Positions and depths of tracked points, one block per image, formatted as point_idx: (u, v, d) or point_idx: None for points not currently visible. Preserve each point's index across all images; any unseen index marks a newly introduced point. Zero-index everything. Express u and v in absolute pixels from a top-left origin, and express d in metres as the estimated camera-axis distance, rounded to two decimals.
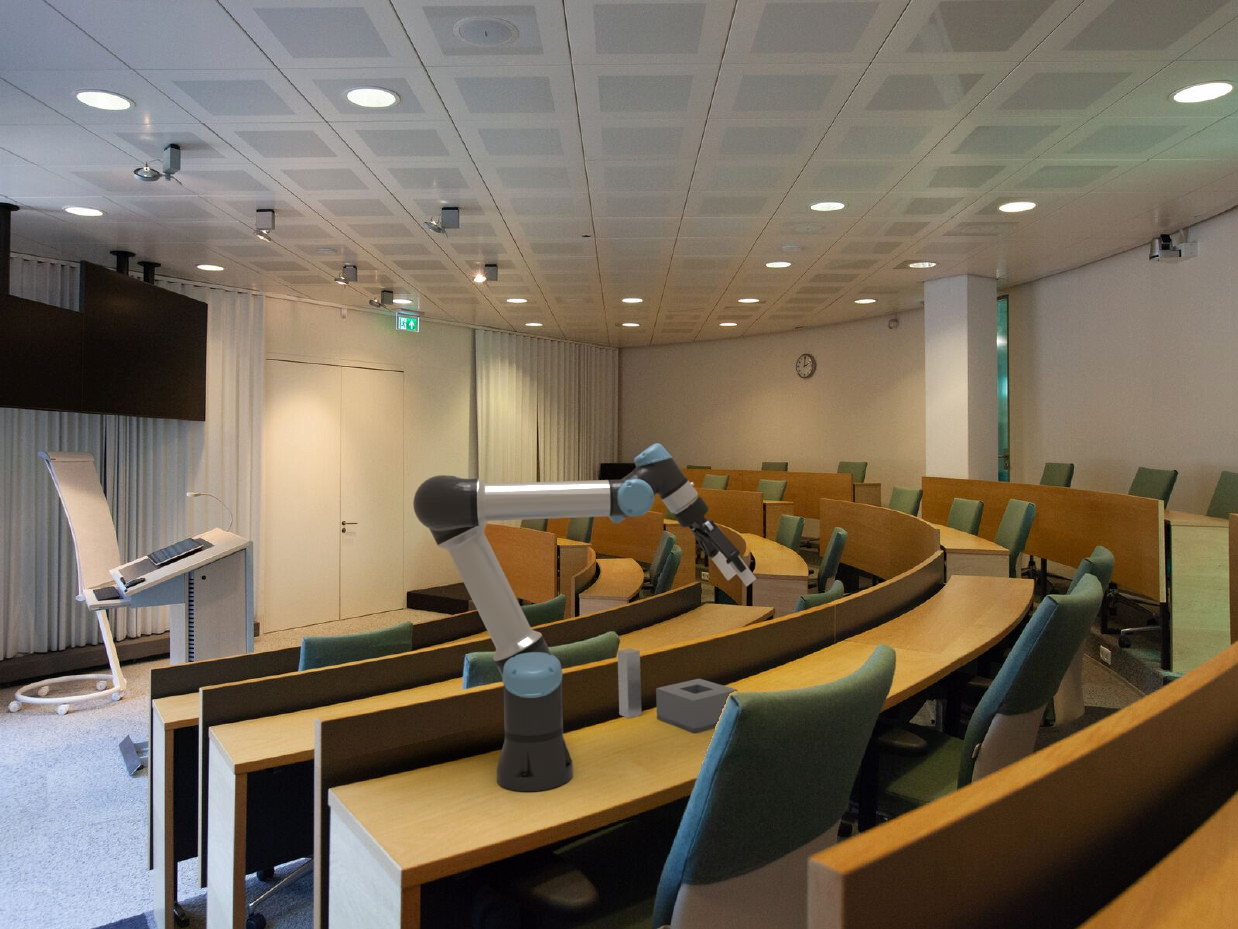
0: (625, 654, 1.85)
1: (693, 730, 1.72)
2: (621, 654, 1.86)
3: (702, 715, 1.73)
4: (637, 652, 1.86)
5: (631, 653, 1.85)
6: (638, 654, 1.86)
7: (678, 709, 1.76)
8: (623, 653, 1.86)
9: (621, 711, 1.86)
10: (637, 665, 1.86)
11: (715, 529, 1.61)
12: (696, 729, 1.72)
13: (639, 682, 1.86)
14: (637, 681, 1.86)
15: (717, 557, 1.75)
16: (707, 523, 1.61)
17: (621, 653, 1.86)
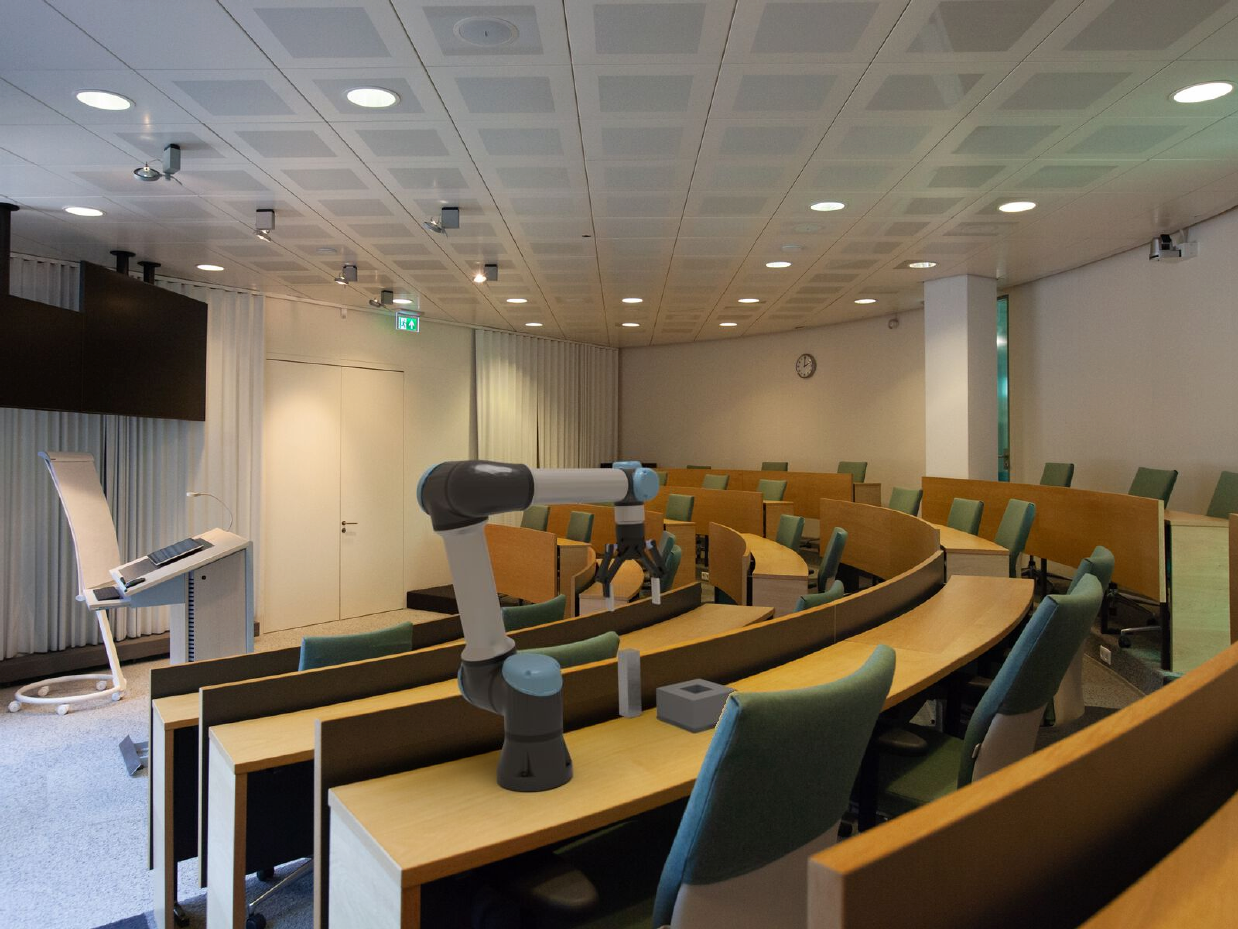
0: (625, 654, 1.85)
1: (693, 730, 1.72)
2: (621, 654, 1.86)
3: (702, 715, 1.73)
4: (637, 652, 1.86)
5: (631, 653, 1.85)
6: (638, 654, 1.86)
7: (678, 709, 1.76)
8: (623, 653, 1.86)
9: (621, 711, 1.86)
10: (637, 665, 1.86)
11: None
12: (696, 729, 1.72)
13: (639, 682, 1.86)
14: (637, 681, 1.86)
15: None
16: None
17: (621, 653, 1.86)
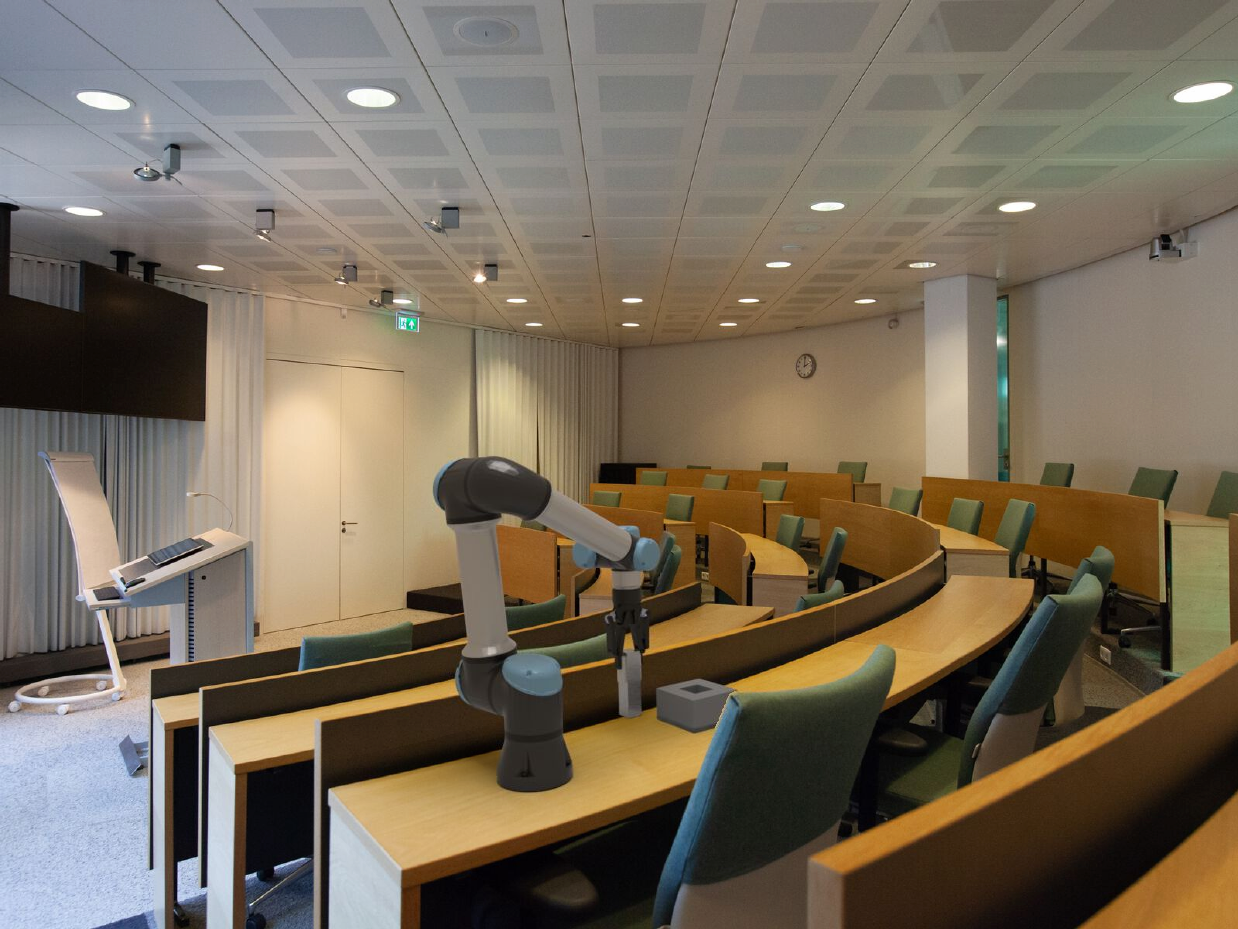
0: (625, 654, 1.85)
1: (693, 730, 1.72)
2: None
3: (702, 715, 1.73)
4: (637, 652, 1.86)
5: (631, 653, 1.85)
6: (638, 654, 1.86)
7: (678, 709, 1.76)
8: (623, 653, 1.86)
9: (621, 711, 1.86)
10: (637, 665, 1.86)
11: None
12: (696, 729, 1.72)
13: (639, 682, 1.86)
14: (637, 681, 1.86)
15: None
16: None
17: None
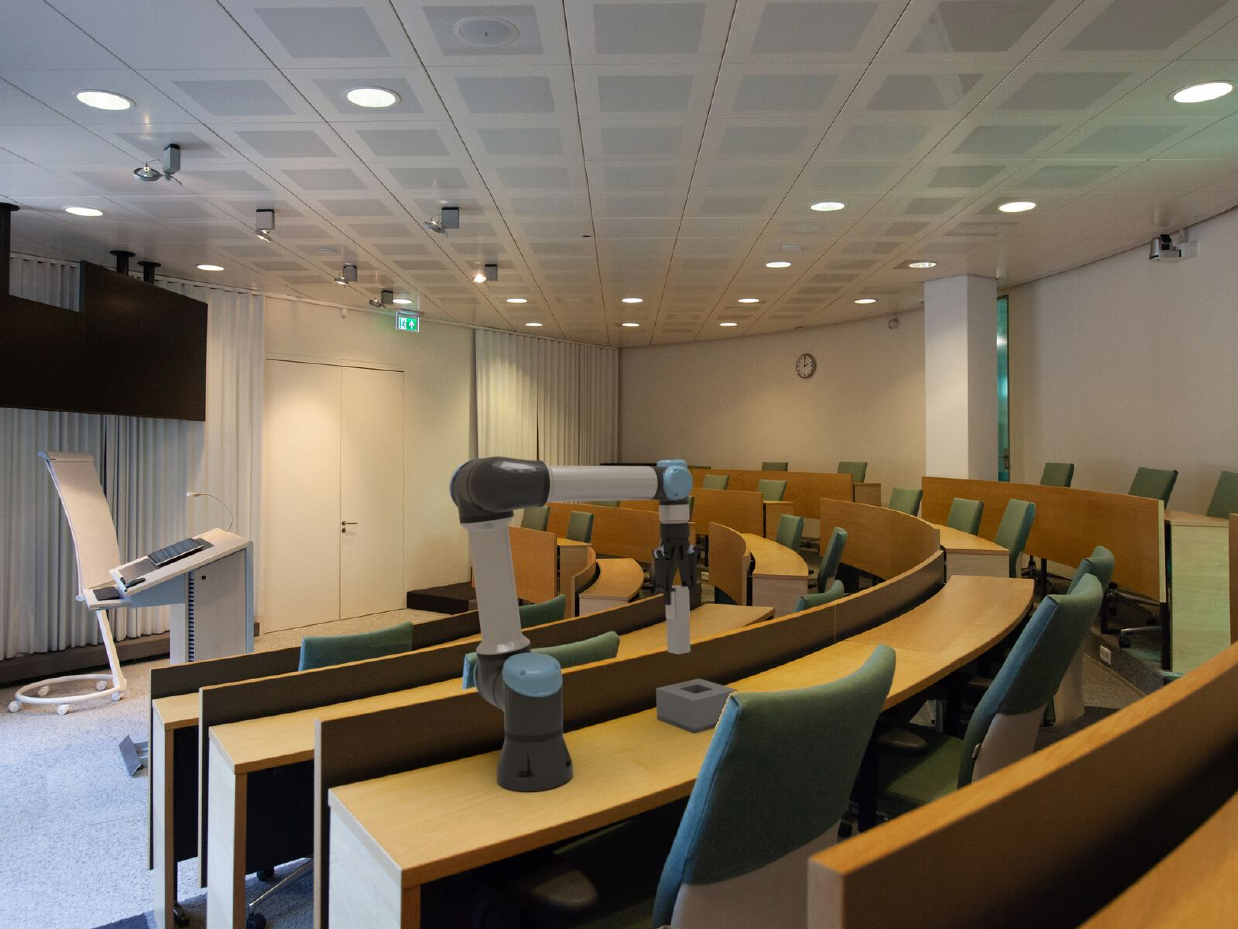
0: (674, 589, 1.81)
1: (693, 730, 1.72)
2: None
3: (702, 715, 1.73)
4: (685, 588, 1.83)
5: (680, 588, 1.82)
6: (686, 590, 1.83)
7: (678, 709, 1.76)
8: None
9: (669, 648, 1.83)
10: (685, 601, 1.83)
11: None
12: (696, 729, 1.72)
13: (688, 618, 1.83)
14: (686, 617, 1.82)
15: None
16: None
17: None
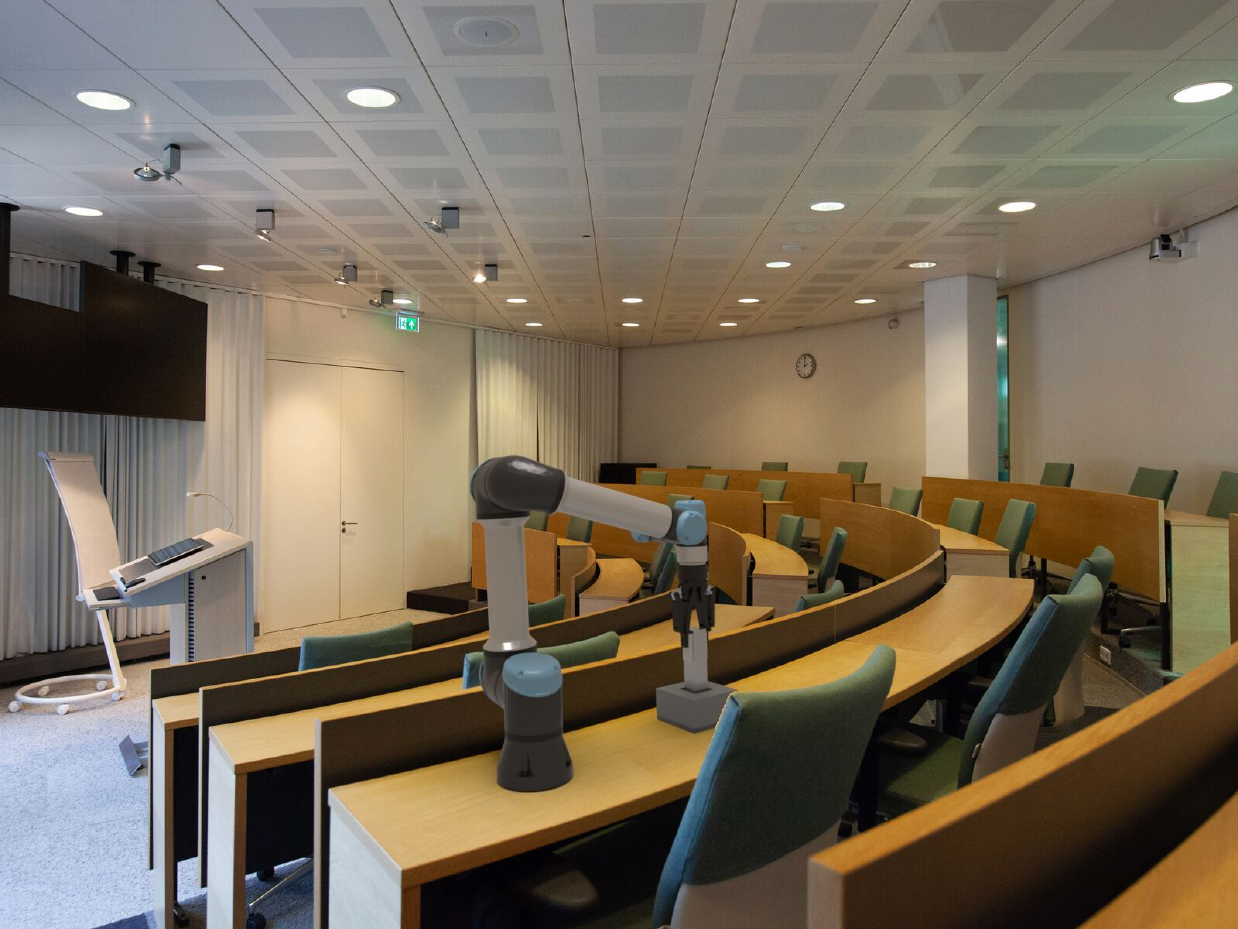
0: (691, 632, 1.79)
1: (693, 730, 1.72)
2: None
3: (702, 715, 1.73)
4: (703, 630, 1.81)
5: (697, 631, 1.80)
6: (704, 632, 1.81)
7: (678, 709, 1.76)
8: (689, 631, 1.80)
9: None
10: (703, 643, 1.81)
11: None
12: (696, 729, 1.72)
13: (706, 660, 1.81)
14: (703, 660, 1.80)
15: None
16: None
17: None
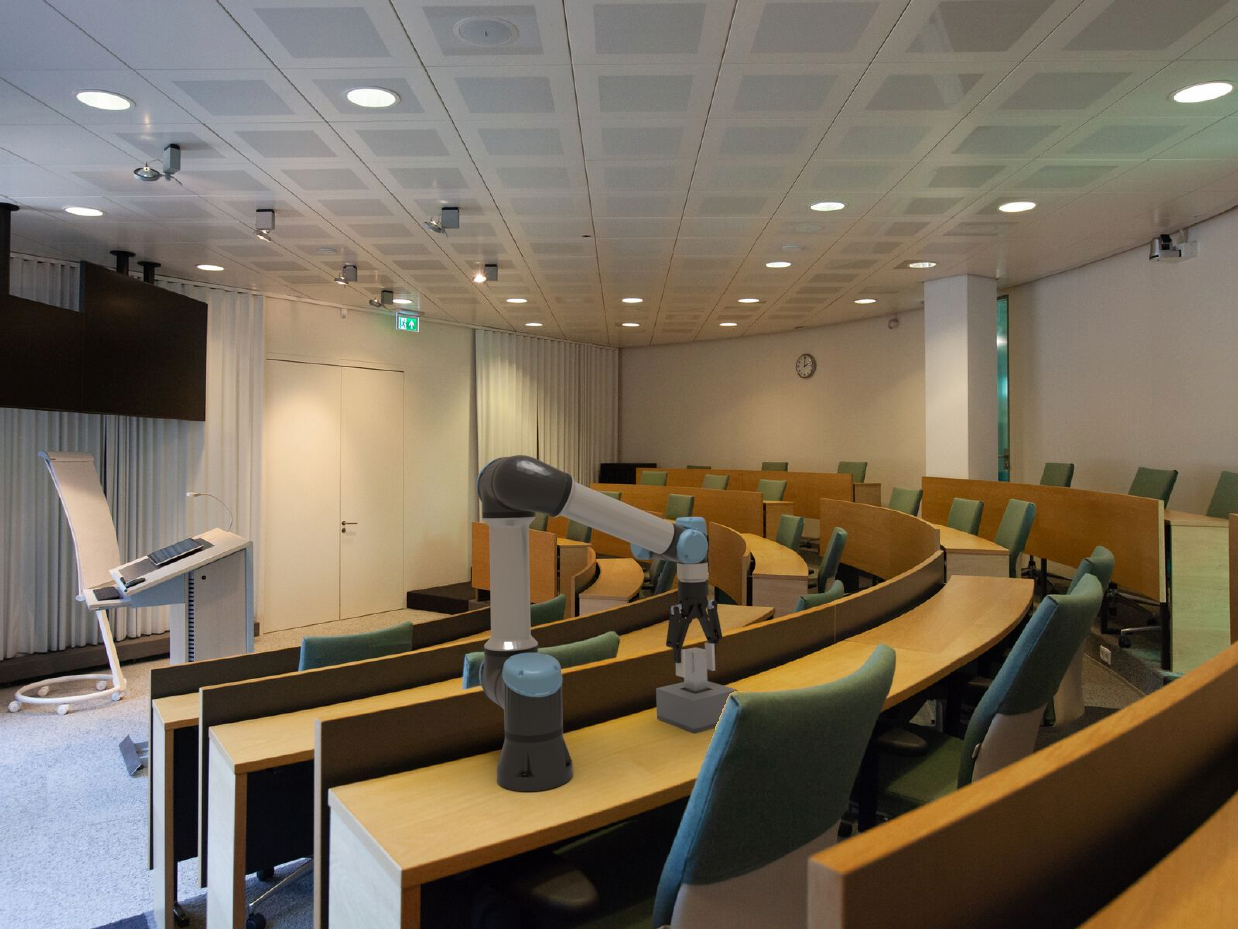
0: (692, 653, 1.79)
1: (693, 730, 1.72)
2: (688, 653, 1.80)
3: (702, 715, 1.73)
4: (704, 651, 1.81)
5: (698, 652, 1.80)
6: (705, 653, 1.81)
7: (678, 709, 1.76)
8: (690, 652, 1.80)
9: None
10: (704, 664, 1.80)
11: None
12: (696, 729, 1.72)
13: (706, 682, 1.81)
14: (704, 681, 1.80)
15: None
16: None
17: (687, 652, 1.81)
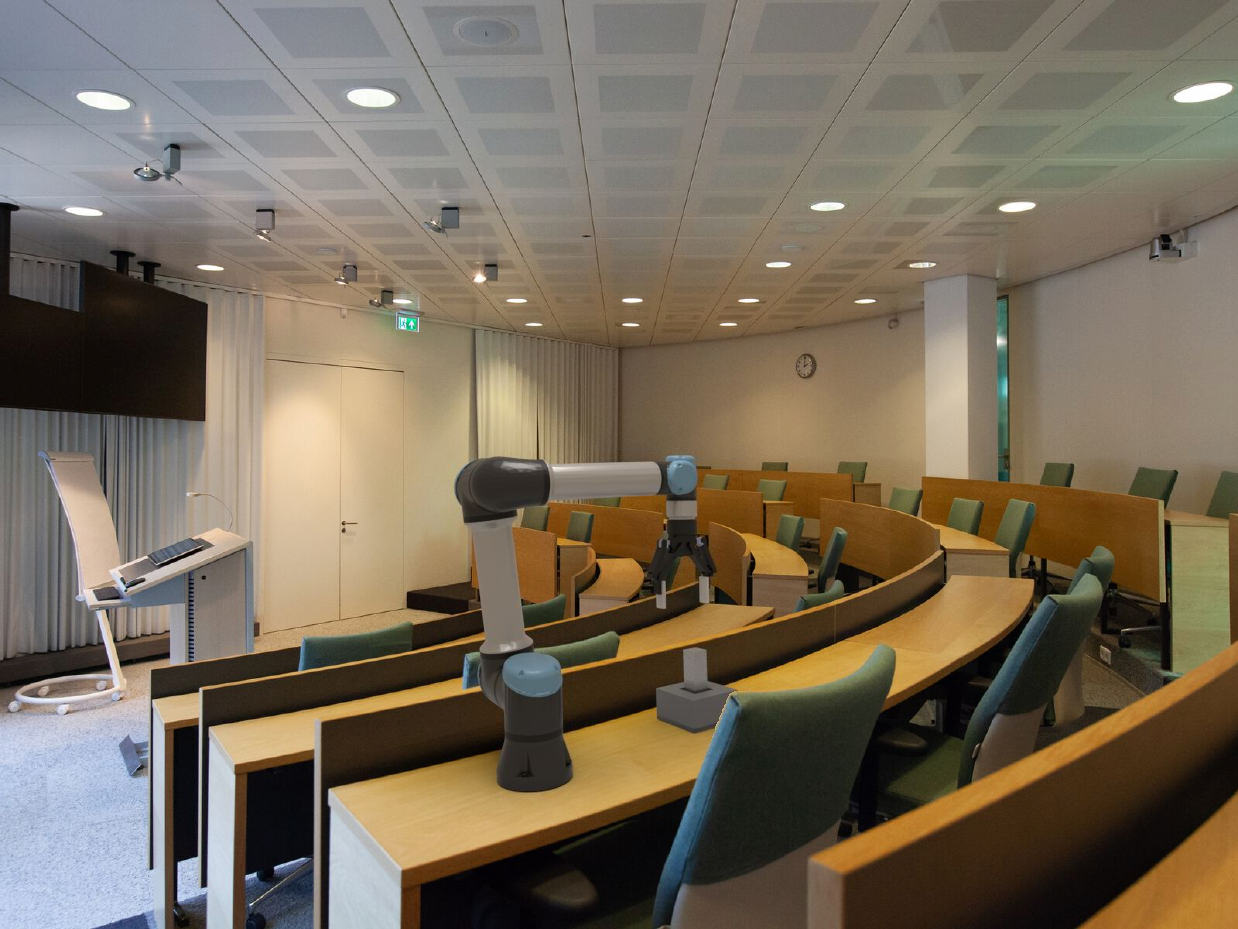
0: (692, 653, 1.79)
1: (693, 730, 1.72)
2: (688, 653, 1.80)
3: (702, 715, 1.73)
4: (704, 651, 1.81)
5: (698, 652, 1.80)
6: (705, 653, 1.81)
7: (678, 709, 1.76)
8: (690, 652, 1.80)
9: None
10: (704, 664, 1.80)
11: None
12: (696, 729, 1.72)
13: (706, 682, 1.81)
14: (704, 681, 1.80)
15: None
16: None
17: (687, 652, 1.81)
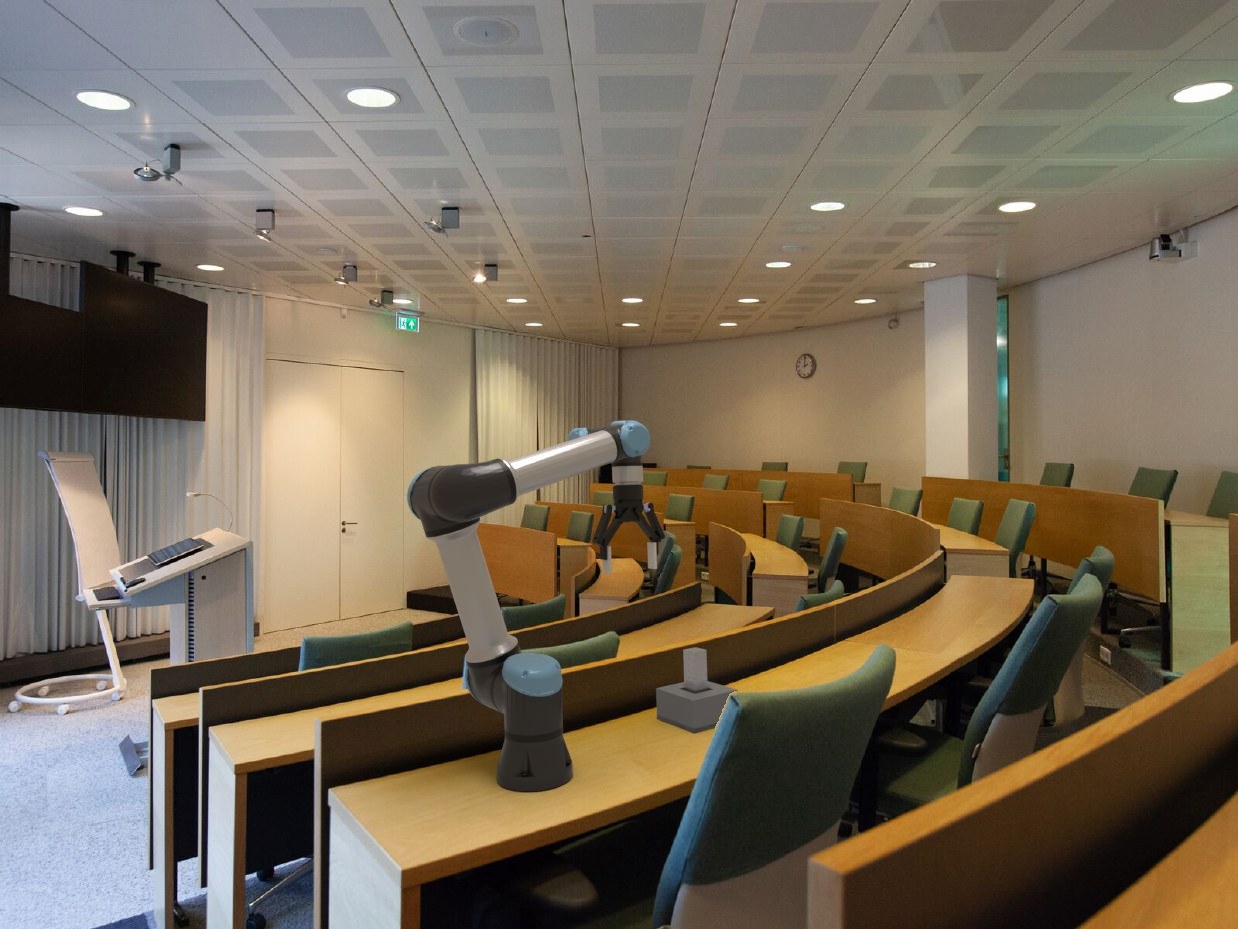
0: (692, 653, 1.79)
1: (693, 730, 1.72)
2: (688, 653, 1.80)
3: (702, 715, 1.73)
4: (704, 651, 1.81)
5: (698, 652, 1.80)
6: (705, 653, 1.81)
7: (678, 709, 1.76)
8: (690, 652, 1.80)
9: None
10: (704, 664, 1.80)
11: None
12: (696, 729, 1.72)
13: (706, 682, 1.81)
14: (704, 681, 1.80)
15: None
16: None
17: (687, 652, 1.81)
